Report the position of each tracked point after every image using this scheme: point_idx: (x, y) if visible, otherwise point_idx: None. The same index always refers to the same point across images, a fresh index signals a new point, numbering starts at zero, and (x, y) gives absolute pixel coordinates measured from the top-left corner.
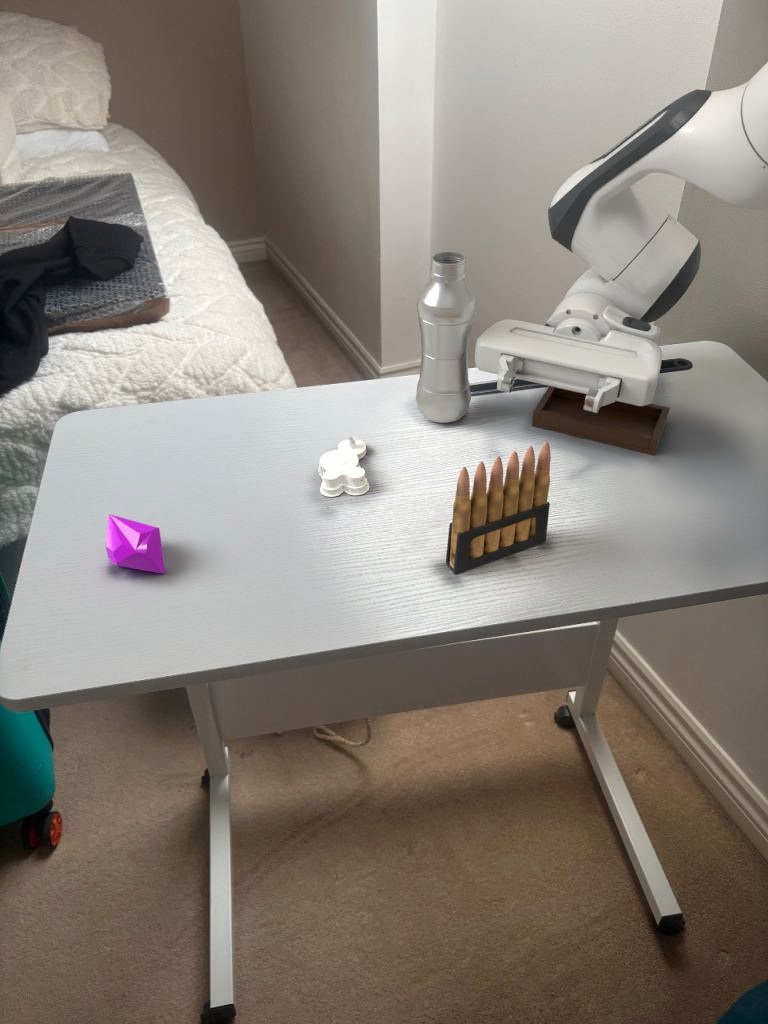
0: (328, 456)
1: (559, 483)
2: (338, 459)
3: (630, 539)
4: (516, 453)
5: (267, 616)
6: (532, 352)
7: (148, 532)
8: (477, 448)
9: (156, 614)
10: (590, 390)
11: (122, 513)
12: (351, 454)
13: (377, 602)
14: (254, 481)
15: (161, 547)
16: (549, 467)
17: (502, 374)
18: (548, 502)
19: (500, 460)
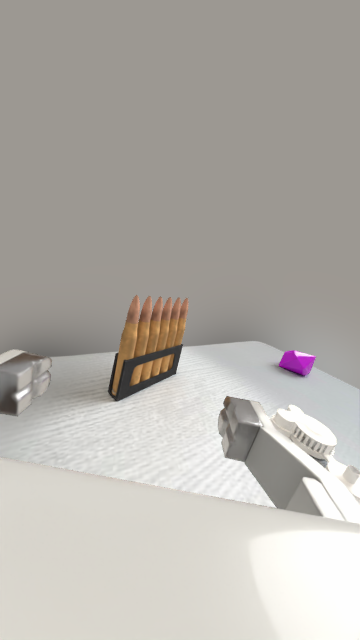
0: (326, 432)
1: None
2: (315, 427)
3: None
4: (159, 297)
5: (228, 353)
6: (275, 524)
7: (294, 353)
8: None
9: (259, 354)
10: (21, 369)
11: (337, 390)
12: (318, 439)
13: (195, 357)
14: (336, 422)
15: (288, 361)
16: (126, 320)
17: (257, 407)
18: (117, 353)
19: (168, 298)
